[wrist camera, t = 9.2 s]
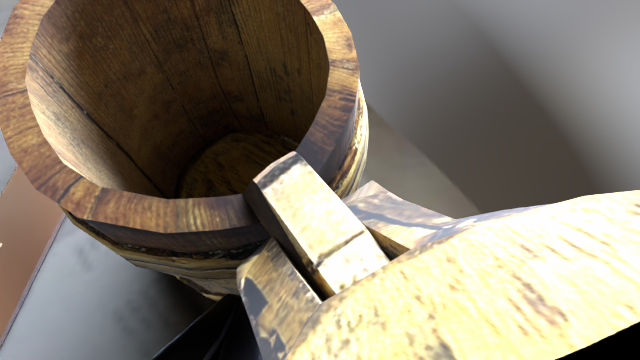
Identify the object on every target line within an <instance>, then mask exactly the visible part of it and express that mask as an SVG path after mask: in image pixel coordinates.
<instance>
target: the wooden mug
mask: <svg viewBox="0 0 640 360" xmlns="http://www.w3.org/2000/svg"><path fill="white" fill-rule="evenodd" d="M359 74H360V66H359V62H358V58H357V54H356V51H355V46H354V43H353V39H352V35H351V31H350V30H349V28H348V26H347V25H346V23H345V21H344V19H343V18H342V16H341V14H340V13H339V11H338V9H337V8H336V6H335V4H334V3H333V2H332V1H331V0H20V1H19V2H18V3H17V4H16V5H15V7H14V8H13V10H12V12H11V15H10V17H9V20H8V22H7V25H6V27H5V30H4V32H3V35H2V37H1V40H0V129H1V131H2V134H3V136H4V138H5V141H6V143H7V146H8V148H9V151H10V153H11V155H12V156H13V158H14V159H15V161H16V162H17V164H18V165H19V166H20V168H21V169H22V171H23V172H24V174H25V175H26V177H27V178H28V180H29V181H30V182H31V184H32V185H33V187H34V188H35V189H36V190H38V191H39V192H41V193H42V194H44V195H45V196H47V197H48V198H50V199H51V200H53V201H54V202H56V203H57V204H58V205H59V207H60V208H61V209H62V210H63V212H64V213H65V214H66V215H67V217H68V218H69V219H70V220H71V222H72V223H73V224H74V225H76V226H77V227H78V228H80V229H81V230H83V231H84V232H86V233H87V234H89V235H90V236H92V237H93V238H95V239H96V240H98V241H99V242H101V243H102V244H104V245H105V246H107V247H108V248H110V249H111V250H113V251H114V252H116V253H117V254H119V255H120V256H122V257H123V258H125V259H126V260H128V261H129V262H131V263H132V264H134V265H135V266H138V267H142V268H146V269H150V270H154V271H158V272H163V273H167V274H171V275H175V276H176V278H177V279H179V280H181V281H182V282H184V283H185V284H187V285H188V286H190V287H192V288H193V289H195V290H196V291H198V292H199V293H201V294H202V295H204V296H206V297H208V298H211V299H214V300H217V301H219V300H220V299H221V298H222V297H223V296H224V295H226V294H227V293H232V294H237V295H241V297H242V300H243V303H244V305H245V308H246V311H247V314H248V317H249V320H250V323H251V326H252V329H253V332H254V335H255V337H256V340H257V343H258V346H259V349H260V352H261V355H262V358H263V360H640V190H638V191H629V192H618V193H609V194H600V195H590V196H583V197H579V198H575V199H571V200H568V201H564V202H560V203H556V204H548V205H540V206H533V207H524V208H517V209H510V210H502V211H497V212H492V213H487V214H482V215H477V216H472V217H466V218H461V219H456V220H455V219H453V218H450V217H447V216H445V215H442V214H440V213H437V212H434V211H432V210H429V209H426V208H424V207H421V206H418V205H416V204H413V203H410V202H408V201H405V200H402V199H401V198H399V197H397V196H396V195H394V194H392V193H391V192H389V191H387V190H386V189H384V188H383V187H381V186H380V185H378V184H377V183H376V182H374V181H373V180H372V181H370V182H368V183H367V184H365V185H364V186H362V187H361V188H359V189H358V186H359V183H360V180H361V177H362V174H363V170H364V167H365V164H366V155H367V144H368V133H369V129H368V116H367V108H366V104H365V100H364V97H363V93H362V89H361V85H360V81H359Z"/></svg>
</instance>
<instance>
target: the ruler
mask: <svg viewBox="0 0 640 360" xmlns="http://www.w3.org/2000/svg"><path fill="white" fill-rule="evenodd" d="M17 165H18V164H17ZM65 216H66V214H65V213H64V212H63V210H62V209H61V208H60V207H59V205H58V204H57V203H56V202H54V201H53V200H51V199H50V198H48V197H47V196H45V195H44V194H42V193H41V192H39V191H38V190H36V189H35V188H34V187H33V185H32V184H31V182H30V181H29V180H28V178H27V177H26V175H25V174H24V172H23V171H22V169H21V168H20V166H19V165H18V166H17V167H16V169H15V171H14V173H13V174H12V176H11V178H10V180H9V181H8V183H7V185H6V187H5V188H4V190H3V192H2V194H1V195H0V348H1V346H2V344H3V342H4V340H5V338H6V335H7V333H8V331H9V329H10V327H11V325H12V323H13V321H14V319H15V317H16V315H17V313H18V311H19V309H20V307H21V305H22V303H23V301H24V299H25V297H26V295H27V293H28V291H29V289H30V287H31V285H32V283H33V281H34V279H35V277H36V275H37V273H38V270H39V268H40V266H41V264H42V262H43V260H44V258H45V256H46V254H47V252H48V250H49V248H50V246H51V244H52V242H53V240H54V238H55V236H56V234H57V232H58V230H59V228H60V226H61V224H62V222H63V220H64V218H65Z"/></svg>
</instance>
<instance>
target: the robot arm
mask: <svg viewBox="0 0 640 360" xmlns="http://www.w3.org/2000/svg"><path fill="white" fill-rule="evenodd" d="M150 360H263V358H262V355H261V352H260V349H259V346H258V343H257V340H256V337H255V335H254V332H253V329H252V326H251V323H250V320H249V317H248V314H247V311H246V308H245V305H244V303H243V300H242V297H241V295H237V294H232V293H227V294H226V295H224V296H223V297H222V298H221V299H220V300H219V301H217V302H216V303H215V304H214V305H213V306H212V307H211V308H209V309H208V310H207V311H206V312H205V313H204V314H202V315H201V316H200V317H199V318H198V319H197V320H195V321H194V322H193V323H192V324H191V325H190V326H188V327H187V328H186V329H185V330H184V331H183V332H182V333H180V334H179V335H178V336H177V337H176V338H175V339H173V340H172V341H171V342H170V343H169V344H168V345H166V346H165V347H164V348H163V349H162V350H161V351H159V352H158V353H157V354H156V355H155V356H154V357H153V358H151V359H150Z"/></svg>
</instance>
